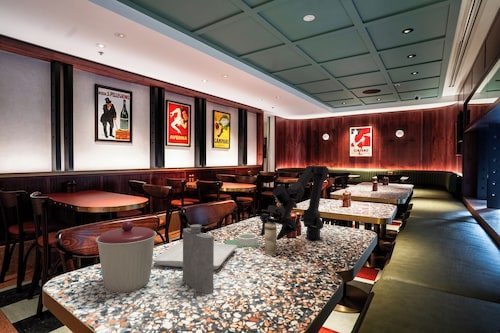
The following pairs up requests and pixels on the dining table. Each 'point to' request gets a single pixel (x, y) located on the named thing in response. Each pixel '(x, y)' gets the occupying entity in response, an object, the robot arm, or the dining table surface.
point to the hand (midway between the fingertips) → (269, 237)
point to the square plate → (176, 255)
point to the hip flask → (198, 259)
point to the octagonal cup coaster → (244, 241)
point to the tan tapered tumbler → (270, 238)
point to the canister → (126, 257)
